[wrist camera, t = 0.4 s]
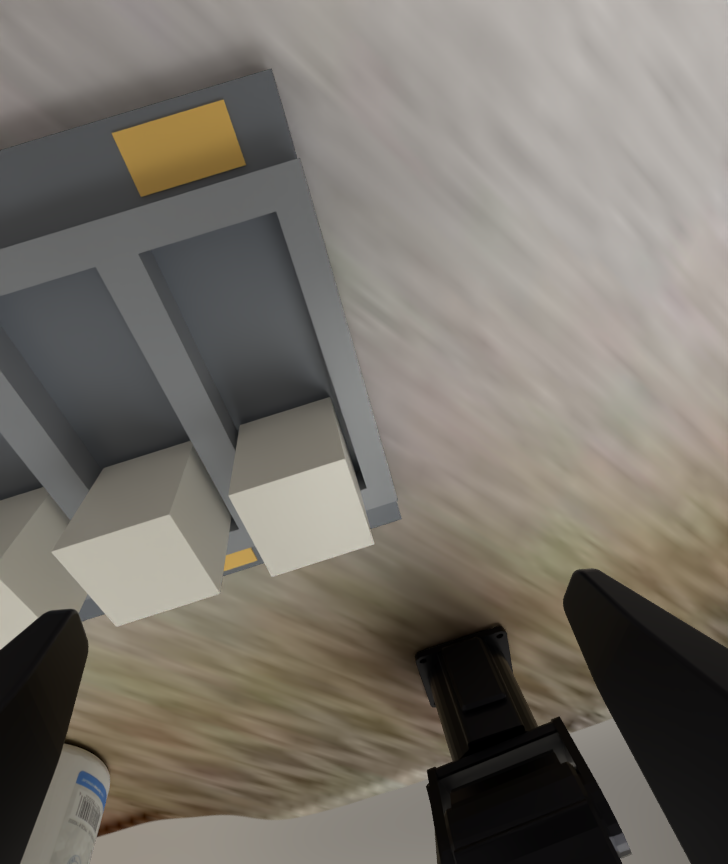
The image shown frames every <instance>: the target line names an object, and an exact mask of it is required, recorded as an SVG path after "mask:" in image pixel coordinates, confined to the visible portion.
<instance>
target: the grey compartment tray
mask: <svg viewBox="0 0 728 864" xmlns="http://www.w3.org/2000/svg"><path fill="white" fill-rule="evenodd" d="M328 397H330V398H331V401H332V404H333V407H334V410H335V413H336V416H337V419H338V422H339V425H340V428H341V431H342V434H343V437H344V440H345V443H346V446H347V449H348V452H349V455H350V458H351V461H352V464H353V467H354V470H355V473H356V477H357V481H358V484H359V488H360V492H361V496H362V499H363V503H364V507H365V511H366V514H367V518H368V522H369V526H370V529H372V528H375V527H378V526H381V525H385V524H388V523H391V522H394V521H397V520H400V519H402V518H401V515H400V511H399V508H398V504H397V501H398V499H397V495H396V492H395V488H394V485H393V481H392V478H391V474H390V471H389V467H388V464H387V460H386V457H385V453H384V450H383V446H382V443H381V439H380V436H379V432H378V429H377V425H376V422H375V418H374V415H373V411H372V408H371V404H370V401H369V397H368V394H367V390H366V387H365V383H364V380H363V377H362V373H361V370H360V366H359V363H358V359H357V356H356V352H355V349H354V345H353V342H352V338H351V335H350V331H349V328H348V324H347V321H346V317H345V314H344V310H343V307H342V303H341V300H340V296H339V293H338V289H337V286H336V282H335V279H334V275H333V272H332V268H331V265H330V261H329V258H328V254H327V251H326V247H325V244H324V240H323V237H322V233H321V230H320V227H319V223H318V220H317V216H316V213H315V209H314V206H313V202H312V199H311V195H310V192H309V188H308V185H307V181H306V178H305V174H304V171H303V167H302V164H301V160H300V158H298V159H297V155H296V152H295V148H294V145H293V141H292V138H291V134H290V131H289V127H288V124H287V121H286V117H285V114H284V110H283V107H282V103H281V100H280V96H279V93H278V89H277V86H276V82H275V79H274V76H273V72H272V69H268V70H265V71H262V72H258V73H255V74H252V75H248V76H245V77H242V78H238V79H235V80H232V81H228V82H225V83H222V84H218V85H215V86H212V87H209V88H205V89H202V90H199V91H195V92H192V93H189V94H185V95H182V96H179V97H175V98H172V99H169V100H165V101H162V102H159V103H155V104H152V105H149V106H146V107H142V108H139V109H136V110H132V111H129V112H126V113H122V114H119V115H116V116H112V117H109V118H106V119H102V120H99V121H96V122H92V123H89V124H86V125H83V126H79V127H76V128H73V129H69V130H66V131H63V132H59V133H56V134H53V135H49V136H46V137H43V138H39V139H36V140H33V141H30V142H26V143H23V144H20V145H16V146H13V147H10V148H6V149H3V150H0V500H4V499H7V498H10V497H13V496H16V495H19V494H23V493H26V492H29V491H32V490H35V489H39V488H42V487H44V488H45V489H46V490H47V492H48V493H49V494H50V495H51V497H52V498H53V499H54V500H55V502H56V503H57V504H58V505H59V507H60V508H61V509H62V510H63V512H64V513H65V514H66V516H67V517H68V518H69V519H70V521H71V519H72V518H73V516H74V514H75V513H76V511H77V510H78V508H79V506H80V505H81V503H82V502H83V500H84V498H85V497H86V495H87V494H88V492H89V490H90V489H91V487H92V486H93V484H94V482H95V481H96V479H97V478H98V476H99V474H100V473H101V471H102V470H103V468H105V467H109V466H112V465H115V464H118V463H121V462H124V461H128V460H131V459H134V458H137V457H140V456H143V455H147V454H150V453H153V452H156V451H159V450H163V449H166V448H169V447H172V446H175V445H178V444H182V443H185V442H188V441H191V442H192V444H193V446H194V448H195V449H196V451H197V453H198V455H199V457H200V459H201V460H202V462H203V464H204V466H205V468H206V469H207V471H208V473H209V475H210V477H211V479H212V480H213V482H214V484H215V486H216V488H217V490H218V491H219V493H220V495H221V497H222V499H223V501H224V502H225V504H226V506H227V508H228V510H229V511H230V513H231V515H232V516H231V523H230V530H229V537H228V544H227V551H226V558H225V564H224V571H223V576H225V575H228V574H231V573H235V572H238V571H241V570H244V569H247V568H250V567H253V566H256V565H260V564H263V563H264V562H263V560H262V558H261V556H260V554H259V552H258V550H257V548H256V547H255V545H254V543H253V541H252V539H251V537H250V535H249V534H248V532H247V530H246V528H245V526H244V524H243V522H242V520H241V519H240V517H239V515H238V513H237V511H236V509H235V507H234V506H233V504H232V502H231V500H230V498H229V496H228V494H229V488H230V482H231V476H232V470H233V464H234V458H235V452H236V446H237V440H238V433H239V427H240V425H242V424H245V423H248V422H252V421H255V420H258V419H261V418H264V417H268V416H271V415H274V414H277V413H280V412H283V411H287V410H290V409H293V408H296V407H299V406H302V405H306V404H309V403H312V402H315V401H318V400H322V399H325V398H328ZM103 614H105V613H104V612H103V611H102V610H101V609H100V607H99V606H98V605H97V604H96V603H95V602H94V601H93V599H92V598H91V597H90V596H89V595H88V594H87V596H86V599H85V601H84V603H83V605H82V607H81V609H80V611H79V615H80V618H81V621H84V620H88V619H91V618H94V617H97V616H100V615H103Z"/></svg>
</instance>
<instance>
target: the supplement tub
mask: <svg viewBox="0 0 728 864" xmlns="http://www.w3.org/2000/svg"><path fill="white" fill-rule="evenodd" d="M109 787H110V775H109V771H108V769H107V767H106V766H105V764H104V763H103V762H102V761H101V760H100V759H99V758H98V757H97V756H95V755H94V754H92V753H90V752H88V751H86V750H84V749H82V748H79V747H76V746H73V745H69V744H64V745H63V749H62V752H61V755H60V759H59V761H58V764H57V767H56V770H55V773H54V776H53V778H52V781H51V784H50V786H49V789H48V792H47V794H46V797H45V800H44V802H43V805H42V807H41V810H40V813H39V815H38V818H37V821H36V823H35V826H34V829H33V831H32V834H31V837H30V839H29V842H28V845H27V847H26V850H25V853H24V855H23V858H22V861H21V863H20V864H90V860H91V856H92V852H93V849H94V845H95V841H96V837H97V834H98V830H99V826H100V822H101V819H102V815H103V811H104V807H105V803H106V799H107V795H108V792H109Z"/></svg>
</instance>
